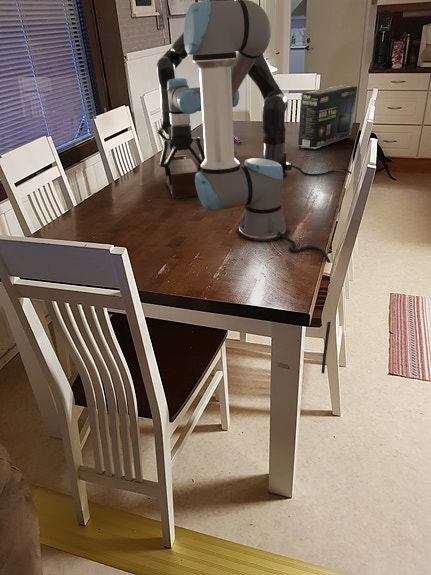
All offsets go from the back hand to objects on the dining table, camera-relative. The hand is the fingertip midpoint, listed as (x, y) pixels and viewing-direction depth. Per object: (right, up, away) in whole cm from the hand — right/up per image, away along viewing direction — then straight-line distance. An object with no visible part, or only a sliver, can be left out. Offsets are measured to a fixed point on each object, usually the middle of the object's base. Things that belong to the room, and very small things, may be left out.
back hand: (173, 150), depth 201 cm
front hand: (+6, -18, -20) cm, 28 cm away
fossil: (+19, +3, +24) cm, 31 cm away
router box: (+77, +17, +44) cm, 90 cm away
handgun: (+27, +23, +57) cm, 68 cm away
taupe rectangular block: (+5, -20, -13) cm, 24 cm away
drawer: (+2, -12, -3) cm, 13 cm away
